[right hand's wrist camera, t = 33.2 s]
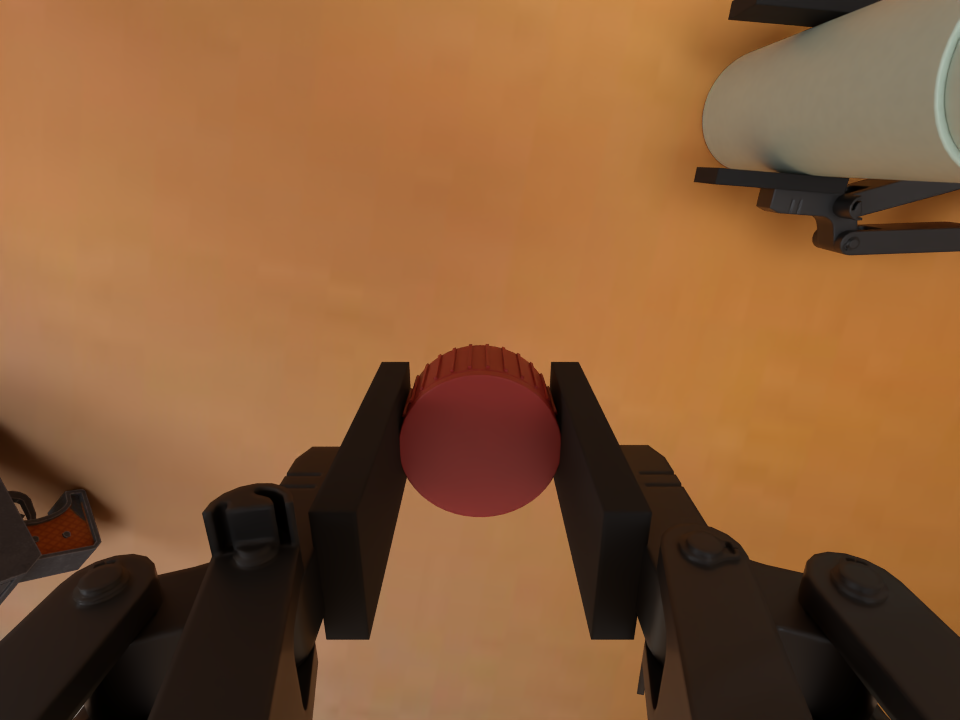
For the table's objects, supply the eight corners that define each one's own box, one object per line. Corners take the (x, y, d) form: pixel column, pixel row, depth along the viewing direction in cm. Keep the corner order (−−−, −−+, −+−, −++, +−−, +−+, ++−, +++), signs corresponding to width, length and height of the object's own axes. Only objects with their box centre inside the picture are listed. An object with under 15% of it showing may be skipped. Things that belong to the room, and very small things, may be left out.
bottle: (678, 120, 31) (1103, 39, 10) (766, 20, 29) (1524, -344, 8) (750, 195, 33) (1249, 262, 12) (838, 104, 31) (1631, -15, 10)
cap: (575, 440, 15) (589, 483, 13) (448, 492, 16) (443, 541, 14) (516, 317, 14) (523, 344, 12) (380, 379, 14) (364, 415, 12)
